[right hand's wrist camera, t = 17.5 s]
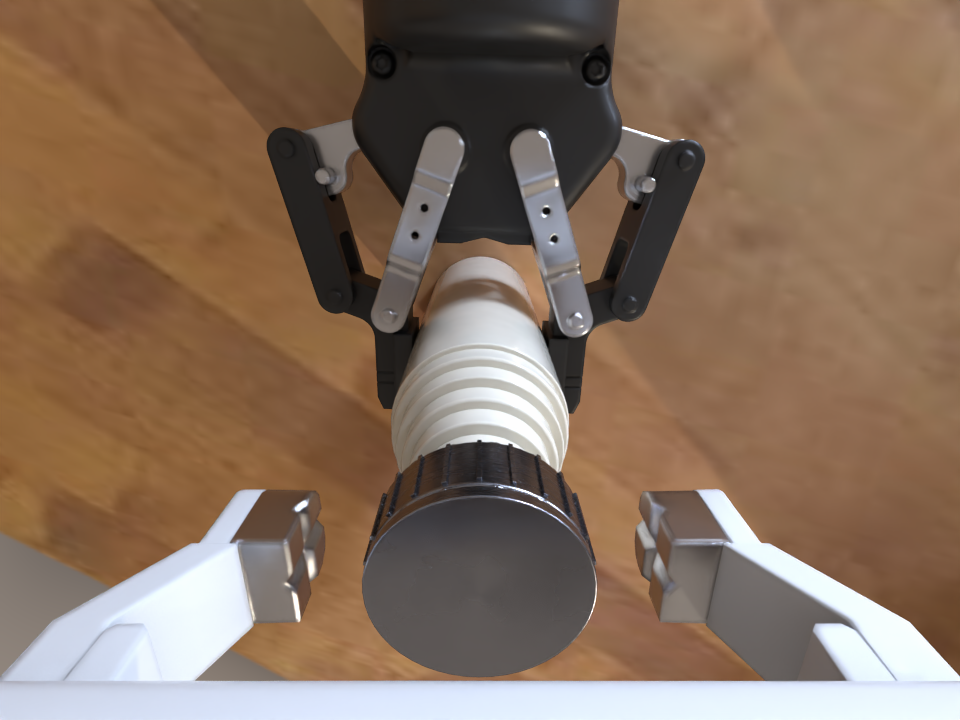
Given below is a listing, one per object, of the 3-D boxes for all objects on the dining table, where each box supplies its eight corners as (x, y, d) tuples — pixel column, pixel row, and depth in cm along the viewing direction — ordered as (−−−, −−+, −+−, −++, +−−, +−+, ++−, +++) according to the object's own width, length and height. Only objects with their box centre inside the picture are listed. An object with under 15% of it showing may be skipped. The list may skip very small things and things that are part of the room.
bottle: (539, 337, 26) (637, 637, 10) (448, 362, 27) (396, 686, 10) (515, 244, 25) (583, 419, 8) (417, 272, 25) (299, 491, 9)
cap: (384, 424, 10) (365, 479, 8) (602, 451, 10) (627, 510, 8) (370, 592, 11) (352, 667, 9) (560, 613, 11) (573, 690, 10)
